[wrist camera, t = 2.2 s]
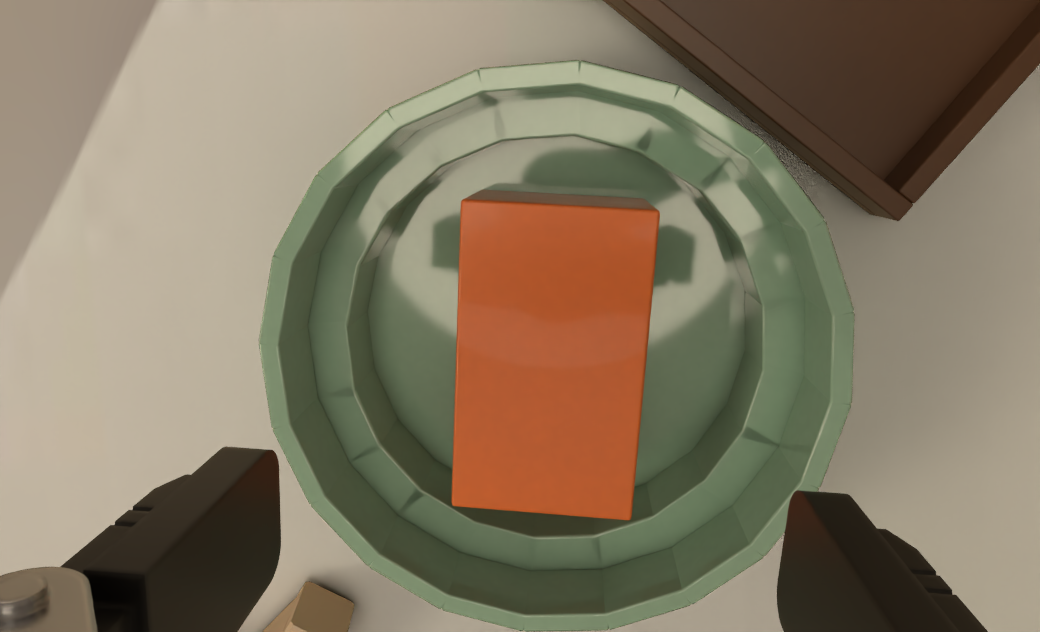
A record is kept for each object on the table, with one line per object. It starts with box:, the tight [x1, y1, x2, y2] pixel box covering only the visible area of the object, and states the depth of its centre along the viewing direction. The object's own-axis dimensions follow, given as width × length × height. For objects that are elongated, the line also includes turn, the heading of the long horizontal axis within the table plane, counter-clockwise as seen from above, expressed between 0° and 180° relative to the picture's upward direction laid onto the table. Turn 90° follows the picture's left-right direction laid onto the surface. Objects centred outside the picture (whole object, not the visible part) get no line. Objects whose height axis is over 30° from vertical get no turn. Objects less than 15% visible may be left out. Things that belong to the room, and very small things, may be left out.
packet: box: [451, 190, 660, 520], centre depth 21 cm, size 8×5×4 cm, turn 177°
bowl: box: [259, 60, 855, 632], centre depth 21 cm, size 15×15×5 cm
